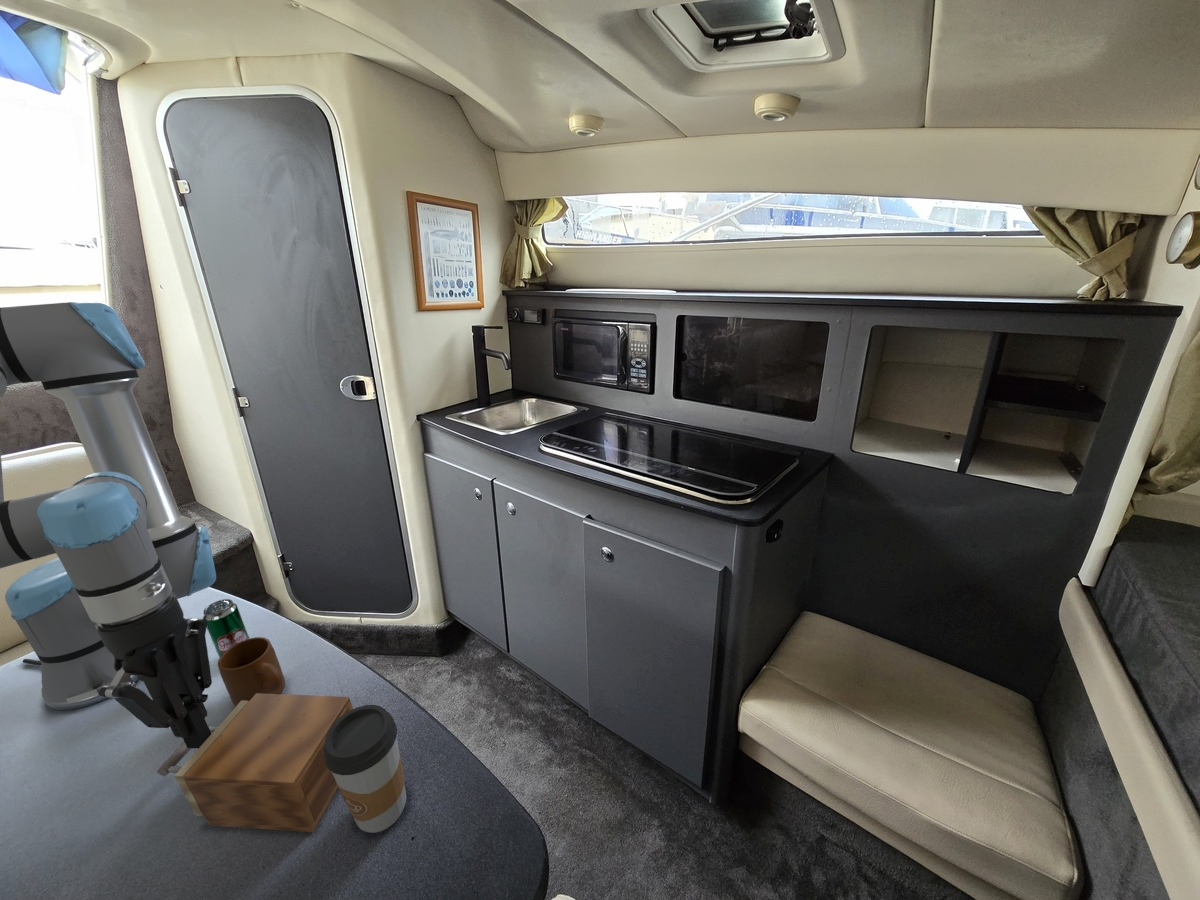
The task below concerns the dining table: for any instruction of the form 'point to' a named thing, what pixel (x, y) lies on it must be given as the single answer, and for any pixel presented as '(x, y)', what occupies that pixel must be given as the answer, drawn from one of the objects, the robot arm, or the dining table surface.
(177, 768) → the drawer
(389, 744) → the coffee cup
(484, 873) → the dining table surface
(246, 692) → the mug
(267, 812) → the cabinet
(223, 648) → the soda can
